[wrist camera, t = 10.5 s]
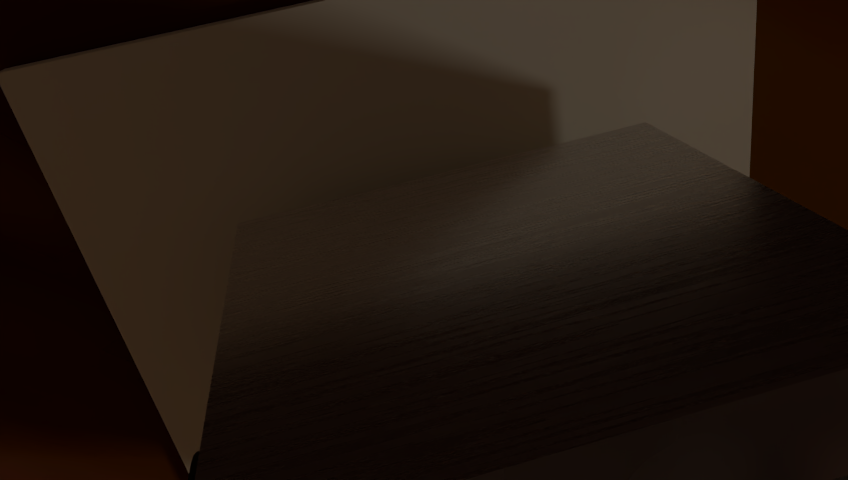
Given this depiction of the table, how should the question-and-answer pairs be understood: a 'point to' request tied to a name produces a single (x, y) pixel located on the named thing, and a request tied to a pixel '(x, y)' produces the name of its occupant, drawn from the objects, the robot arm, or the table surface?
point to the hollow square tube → (538, 327)
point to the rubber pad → (340, 130)
